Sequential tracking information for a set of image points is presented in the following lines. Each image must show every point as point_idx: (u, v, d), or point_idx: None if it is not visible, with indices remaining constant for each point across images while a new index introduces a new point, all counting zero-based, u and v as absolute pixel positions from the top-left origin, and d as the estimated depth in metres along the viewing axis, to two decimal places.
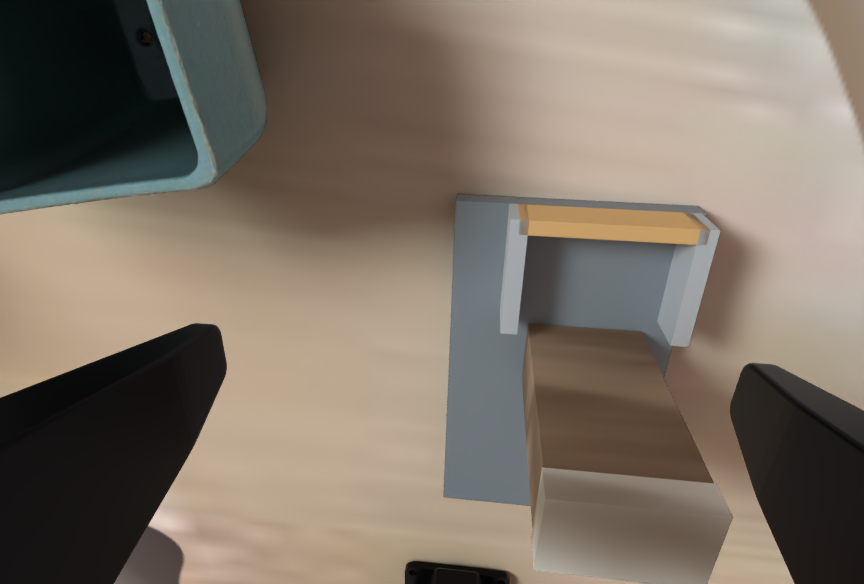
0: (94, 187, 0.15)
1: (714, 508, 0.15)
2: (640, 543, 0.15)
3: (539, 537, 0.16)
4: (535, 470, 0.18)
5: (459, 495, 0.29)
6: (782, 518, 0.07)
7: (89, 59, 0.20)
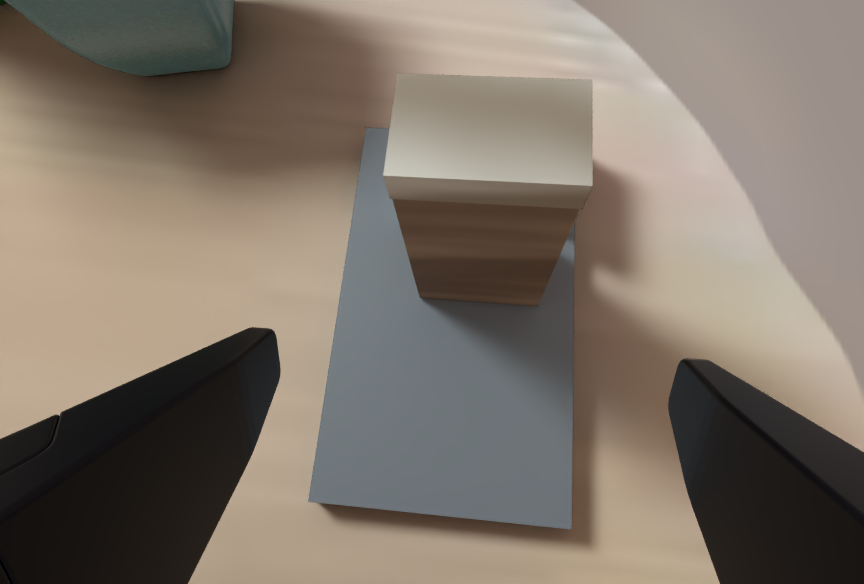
0: None
1: (574, 86, 0.14)
2: (503, 122, 0.13)
3: (390, 126, 0.14)
4: None
5: (331, 497, 0.21)
6: (707, 511, 0.08)
7: None
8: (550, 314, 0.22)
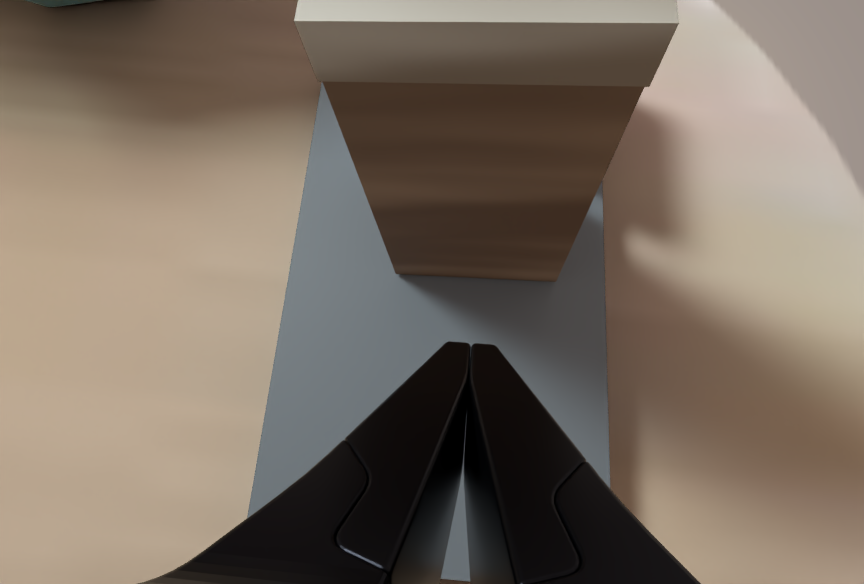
0: None
1: None
2: None
3: None
4: None
5: None
6: (467, 488, 0.08)
7: None
8: (573, 292, 0.16)
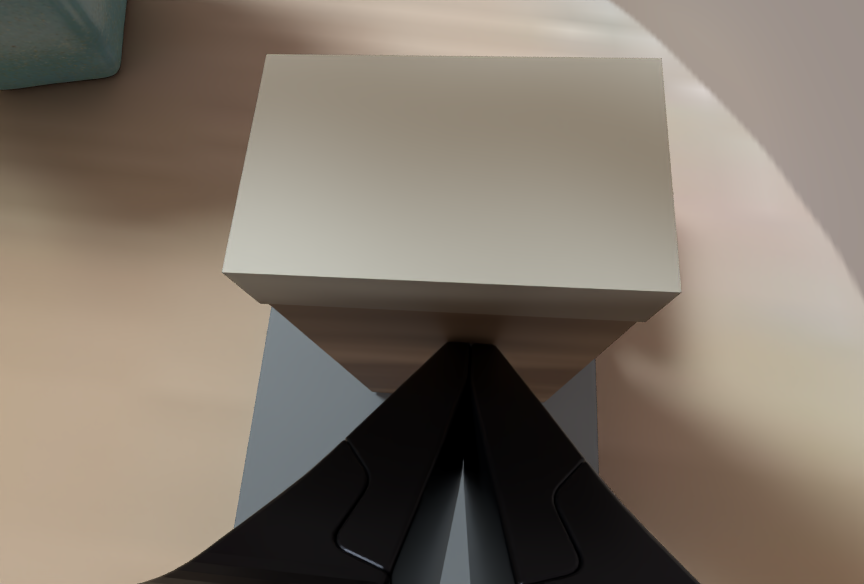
0: None
1: (623, 72, 0.07)
2: (480, 150, 0.06)
3: (246, 162, 0.07)
4: None
5: None
6: (467, 488, 0.08)
7: None
8: None
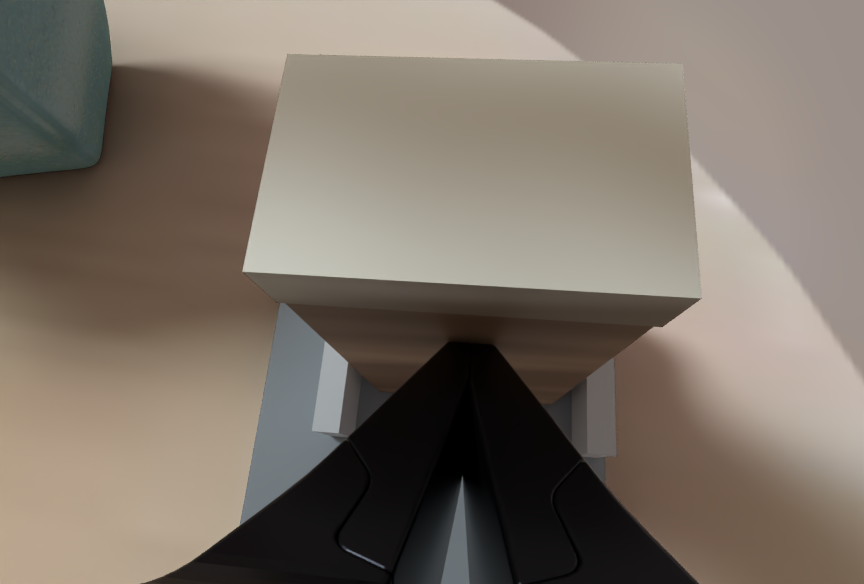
0: None
1: (643, 76, 0.07)
2: (501, 153, 0.06)
3: (267, 161, 0.07)
4: None
5: None
6: (466, 488, 0.08)
7: None
8: None
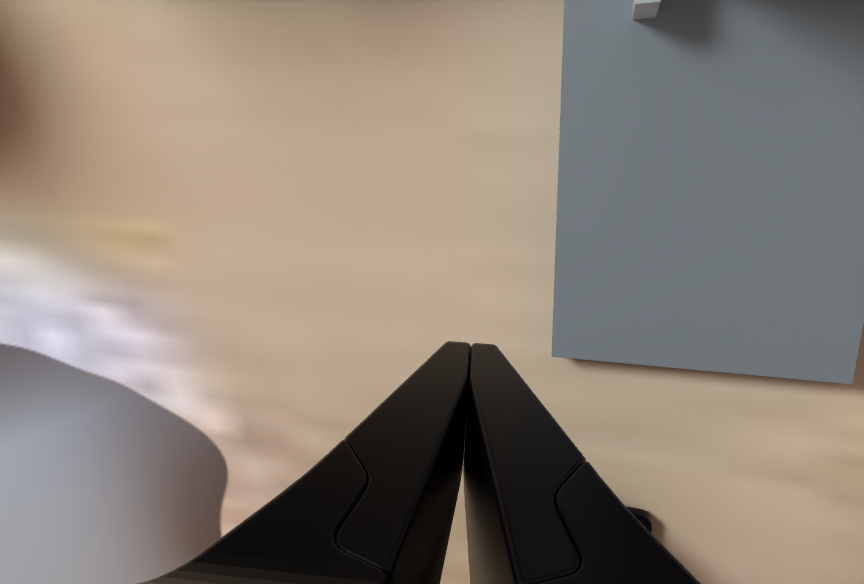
0: None
1: None
2: None
3: None
4: None
5: (575, 352, 0.21)
6: (467, 488, 0.08)
7: None
8: (861, 132, 0.16)
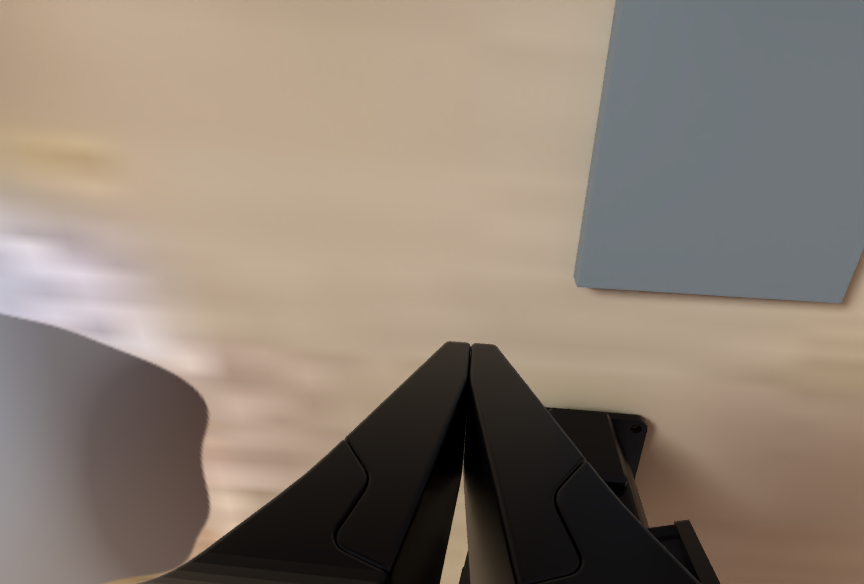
0: None
1: None
2: None
3: None
4: None
5: (600, 282, 0.21)
6: (467, 488, 0.08)
7: None
8: None
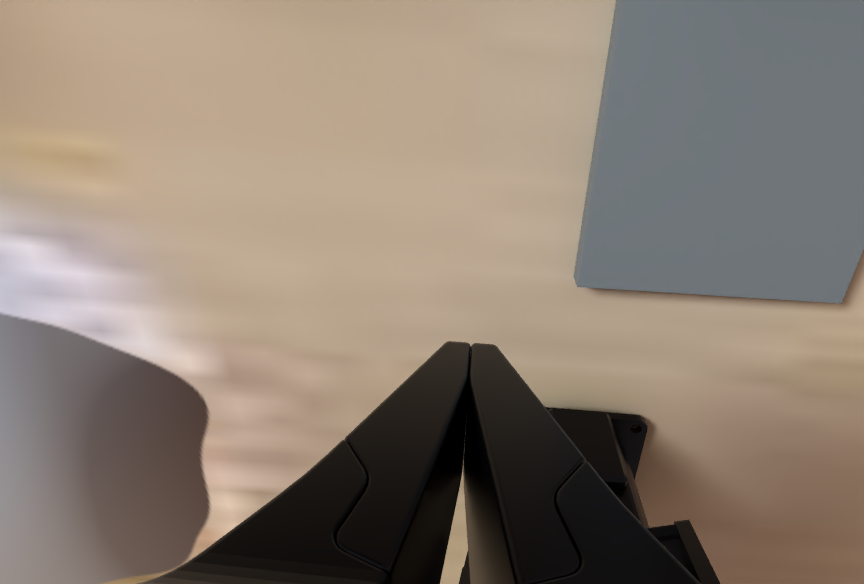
0: None
1: None
2: None
3: None
4: None
5: (601, 282, 0.21)
6: None
7: None
8: None
